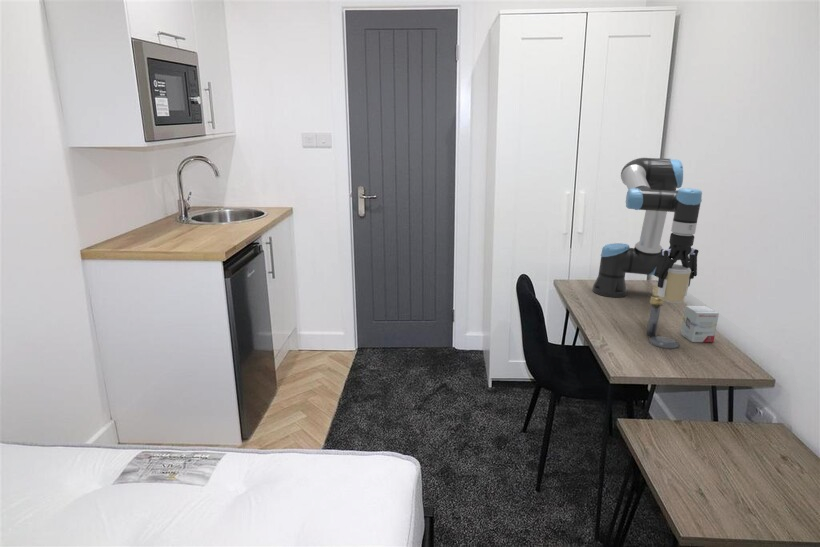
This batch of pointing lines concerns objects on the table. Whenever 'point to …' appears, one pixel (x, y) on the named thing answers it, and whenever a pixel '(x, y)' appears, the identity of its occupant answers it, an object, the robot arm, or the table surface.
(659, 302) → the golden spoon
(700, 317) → the ink box
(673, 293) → the coffee cup
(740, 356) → the table surface
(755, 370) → the table surface
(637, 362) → the table surface
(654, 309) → the post
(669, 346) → the disc
